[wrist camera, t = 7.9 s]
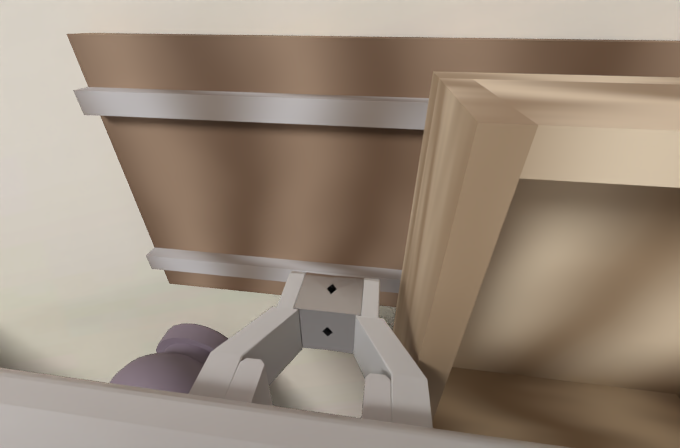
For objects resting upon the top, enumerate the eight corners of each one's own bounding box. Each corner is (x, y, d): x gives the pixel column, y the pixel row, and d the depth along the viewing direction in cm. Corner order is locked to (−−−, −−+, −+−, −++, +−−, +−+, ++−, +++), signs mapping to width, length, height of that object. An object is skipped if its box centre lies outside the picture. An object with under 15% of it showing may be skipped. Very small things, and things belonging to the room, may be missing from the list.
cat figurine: (134, 330, 26) (-22, 520, 16) (192, 302, 23) (45, 516, 13) (207, 383, 30) (115, 566, 20) (267, 365, 26) (194, 572, 17)
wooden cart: (389, 310, 18) (390, 472, 11) (424, 61, 11) (478, 122, 4) (630, 335, 16) (784, 535, 10) (851, 70, 9) (1822, 177, 3)
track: (179, 271, 21) (162, 292, 20) (90, 33, 14) (49, 34, 12) (548, 307, 19) (563, 335, 17) (696, 41, 11) (751, 44, 9)
